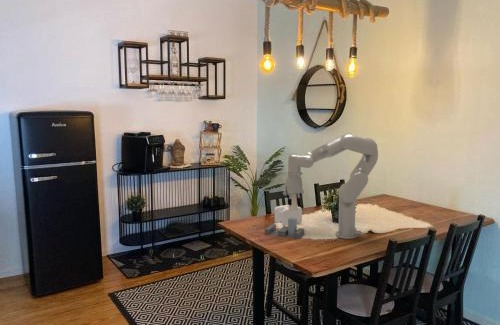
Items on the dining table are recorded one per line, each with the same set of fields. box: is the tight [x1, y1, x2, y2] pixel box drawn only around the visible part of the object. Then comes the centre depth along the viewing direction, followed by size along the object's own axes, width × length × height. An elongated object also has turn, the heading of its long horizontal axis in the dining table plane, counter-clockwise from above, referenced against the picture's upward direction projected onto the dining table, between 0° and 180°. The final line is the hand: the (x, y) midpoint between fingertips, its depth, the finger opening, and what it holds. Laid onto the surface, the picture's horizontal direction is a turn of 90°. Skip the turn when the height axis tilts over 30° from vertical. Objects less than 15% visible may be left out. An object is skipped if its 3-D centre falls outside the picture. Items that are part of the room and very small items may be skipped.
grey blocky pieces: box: [263, 224, 306, 240], centre depth 235 cm, size 23×10×4 cm, turn 64°
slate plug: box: [287, 217, 298, 236], centre depth 232 cm, size 4×4×10 cm
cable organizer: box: [274, 204, 303, 226], centre depth 256 cm, size 15×11×12 cm
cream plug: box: [289, 194, 299, 211], centre depth 236 cm, size 4×4×10 cm
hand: (293, 204), depth 236 cm, fingers closed on cream plug, 3 cm apart
